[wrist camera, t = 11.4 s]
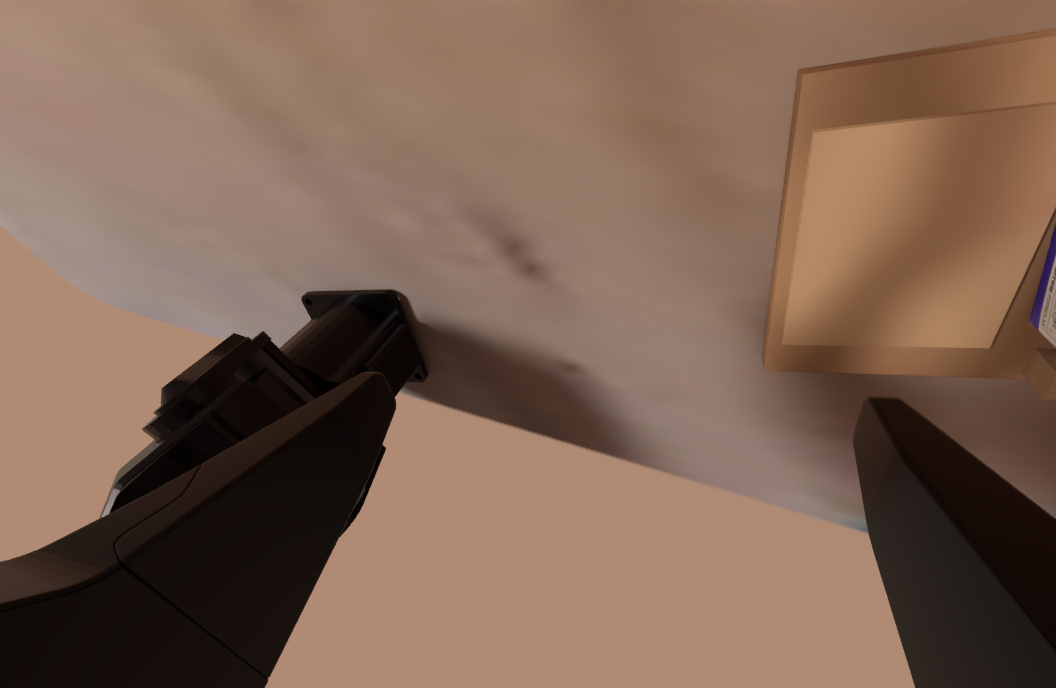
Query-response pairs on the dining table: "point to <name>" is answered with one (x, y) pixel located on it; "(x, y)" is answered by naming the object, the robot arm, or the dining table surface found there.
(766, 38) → the dining table surface
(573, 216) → the dining table surface
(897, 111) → the click board
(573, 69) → the dining table surface
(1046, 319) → the supplement box
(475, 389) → the dining table surface
